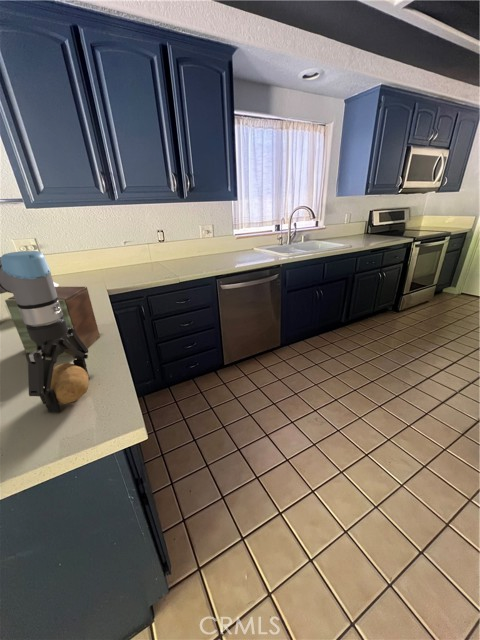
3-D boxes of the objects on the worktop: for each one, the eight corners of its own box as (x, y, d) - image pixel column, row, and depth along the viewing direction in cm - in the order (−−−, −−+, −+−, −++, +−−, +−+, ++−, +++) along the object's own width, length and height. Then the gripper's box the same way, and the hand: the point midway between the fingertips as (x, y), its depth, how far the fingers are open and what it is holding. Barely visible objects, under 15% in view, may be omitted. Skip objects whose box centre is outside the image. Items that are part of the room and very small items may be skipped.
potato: (85, 375, 78) (78, 352, 75) (99, 400, 69) (91, 375, 65) (46, 389, 73) (36, 365, 69) (55, 419, 63) (44, 392, 60)
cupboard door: (66, 368, 82) (46, 309, 73) (10, 367, 82) (-17, 309, 74) (81, 354, 89) (64, 299, 80) (29, 353, 89) (7, 299, 81)
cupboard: (81, 354, 89) (65, 298, 81) (30, 353, 90) (7, 298, 81) (100, 337, 100) (86, 286, 91) (53, 336, 101) (36, 286, 92)
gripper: (19, 347, 50) (53, 430, 59) (89, 301, 72) (107, 367, 81) (-19, 346, 50) (21, 429, 59) (63, 301, 72) (83, 367, 81)
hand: (70, 394), depth 70 cm, fingers closed on potato, 12 cm apart
